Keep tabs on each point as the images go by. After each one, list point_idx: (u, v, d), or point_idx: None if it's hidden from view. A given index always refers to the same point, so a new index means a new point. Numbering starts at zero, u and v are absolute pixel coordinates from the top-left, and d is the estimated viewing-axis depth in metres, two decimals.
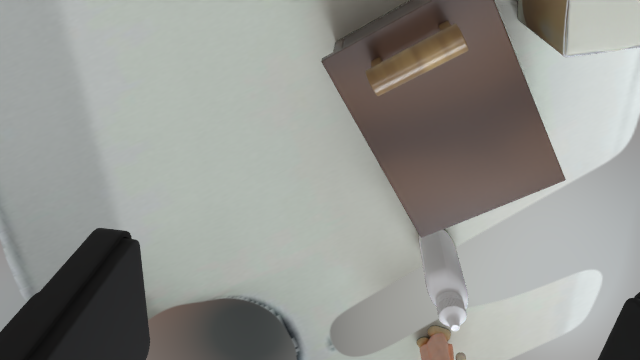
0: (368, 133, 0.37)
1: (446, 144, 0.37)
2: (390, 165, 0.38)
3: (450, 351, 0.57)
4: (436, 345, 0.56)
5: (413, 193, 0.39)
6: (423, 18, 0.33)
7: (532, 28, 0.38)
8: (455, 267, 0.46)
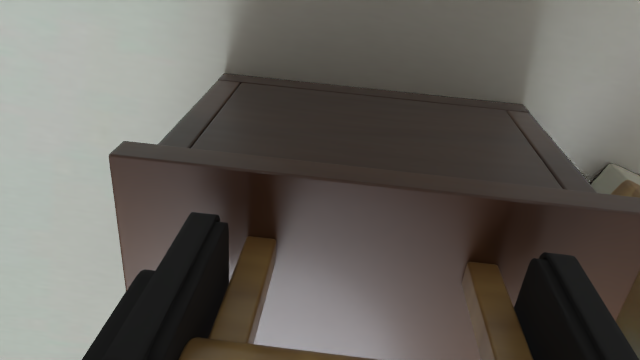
0: None
1: None
2: None
3: None
4: None
5: None
6: (446, 224, 0.11)
7: None
8: None
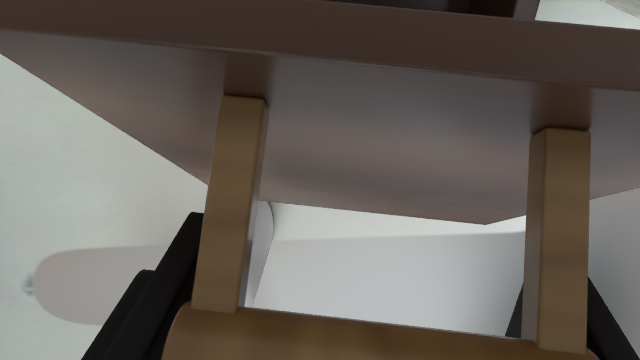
0: (158, 145, 0.12)
1: (341, 186, 0.16)
2: (201, 169, 0.16)
3: None
4: None
5: None
6: (525, 103, 0.07)
7: None
8: (255, 266, 0.29)
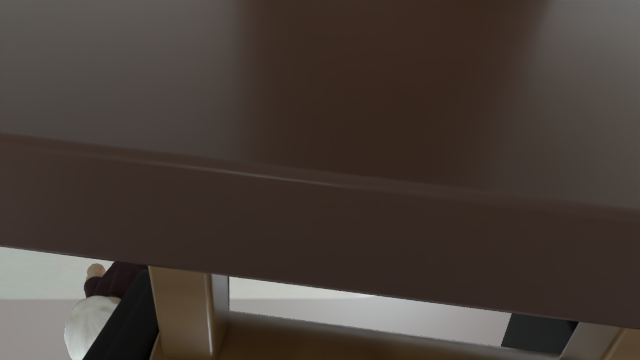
0: None
1: None
2: None
3: None
4: None
5: None
6: None
7: None
8: None
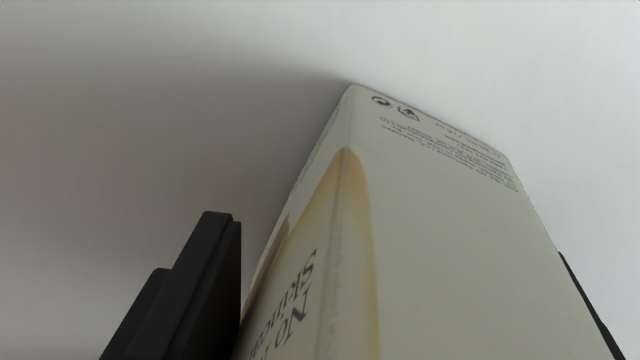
0: None
1: None
2: None
3: None
4: None
5: None
6: None
7: None
8: None
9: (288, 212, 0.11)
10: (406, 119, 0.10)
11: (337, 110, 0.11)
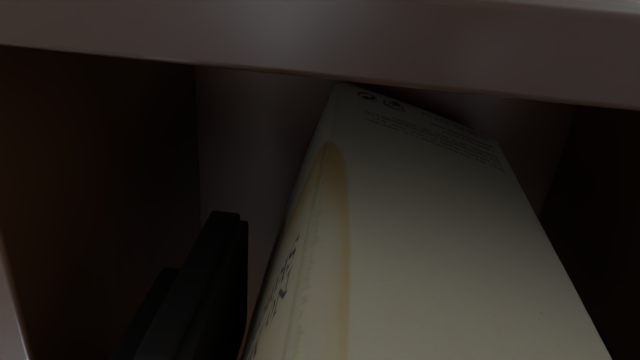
0: None
1: None
2: None
3: None
4: None
5: None
6: None
7: None
8: None
9: (287, 209, 0.12)
10: (391, 111, 0.11)
11: (326, 108, 0.11)
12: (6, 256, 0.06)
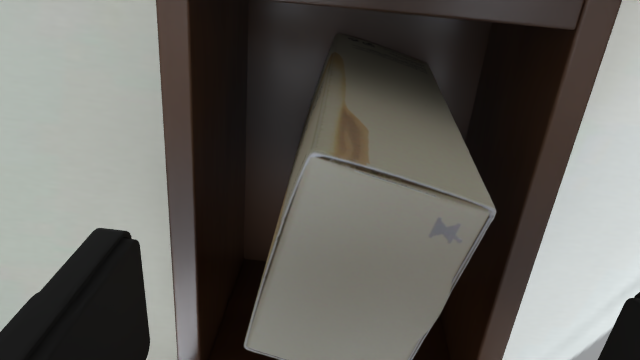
0: None
1: None
2: None
3: None
4: None
5: None
6: None
7: None
8: None
9: (310, 105, 0.20)
10: (367, 46, 0.20)
11: None
12: (191, 94, 0.14)
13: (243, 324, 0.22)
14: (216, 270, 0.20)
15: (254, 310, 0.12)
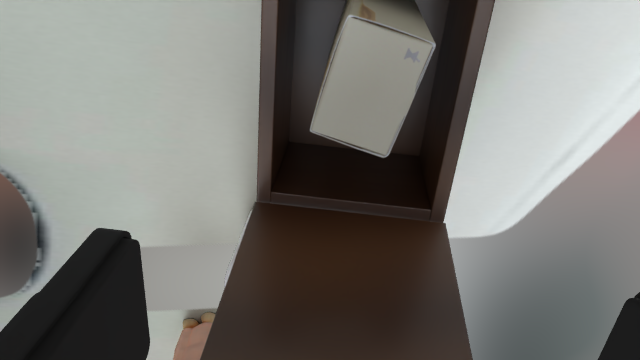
0: None
1: None
2: None
3: None
4: (202, 335, 0.46)
5: None
6: None
7: None
8: None
9: (338, 24, 0.32)
10: None
11: None
12: (278, 2, 0.26)
13: (293, 171, 0.34)
14: (279, 127, 0.32)
15: (316, 106, 0.24)
